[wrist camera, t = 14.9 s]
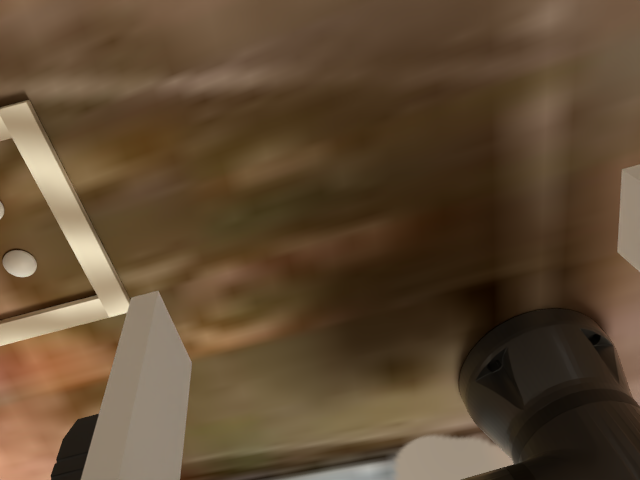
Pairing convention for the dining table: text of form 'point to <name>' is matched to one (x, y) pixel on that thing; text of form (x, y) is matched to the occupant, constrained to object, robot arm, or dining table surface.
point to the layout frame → (75, 226)
